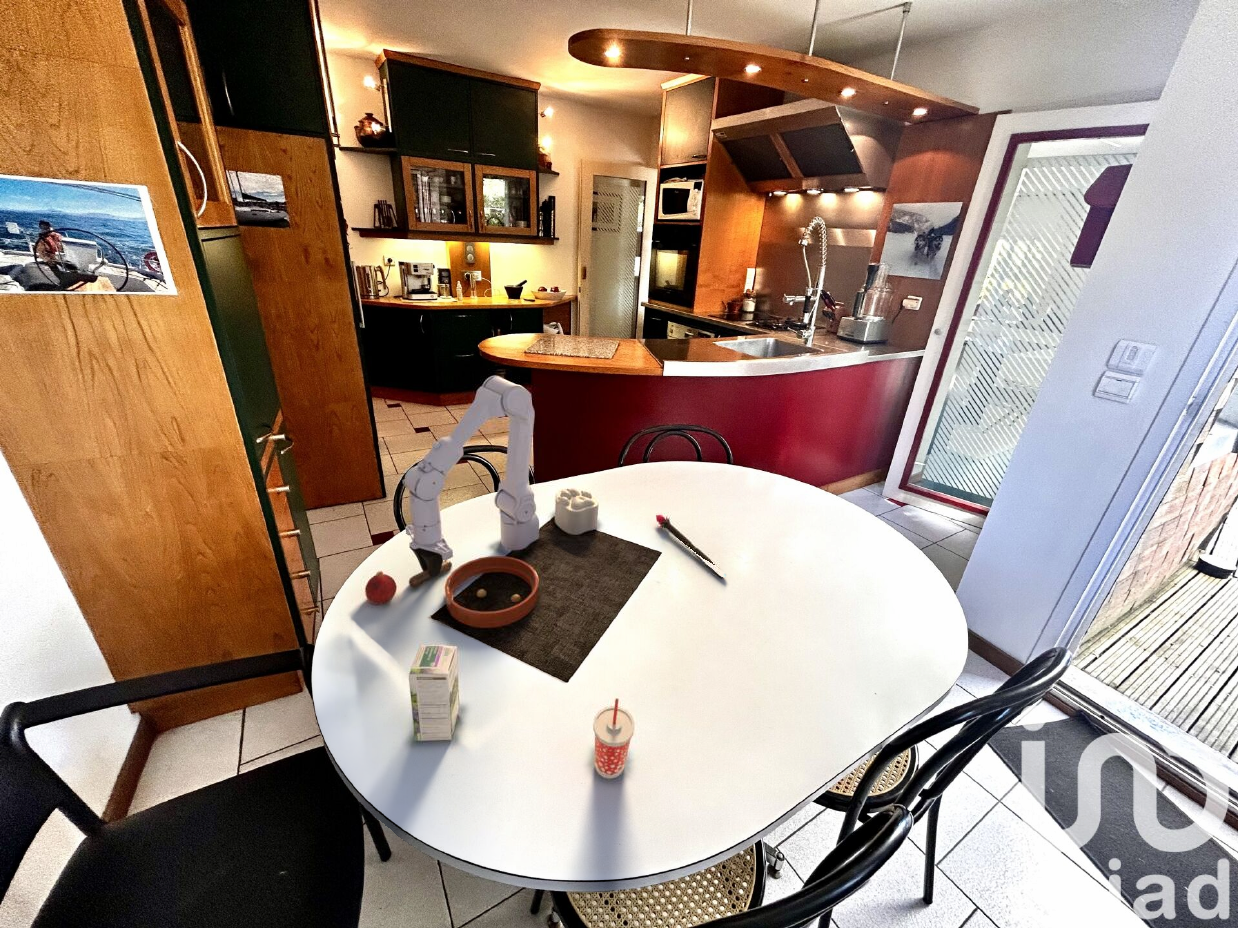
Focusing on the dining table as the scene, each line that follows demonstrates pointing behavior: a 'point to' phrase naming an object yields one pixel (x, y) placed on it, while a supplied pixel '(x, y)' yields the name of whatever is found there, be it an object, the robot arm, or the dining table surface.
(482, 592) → the bead
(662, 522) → the wand
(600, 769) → the beverage cup
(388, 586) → the red round piece
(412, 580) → the stick
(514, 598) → the bead
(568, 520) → the lumpy-topped squat cylinder
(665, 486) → the dining table surface
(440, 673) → the syrup box
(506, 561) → the bowl
